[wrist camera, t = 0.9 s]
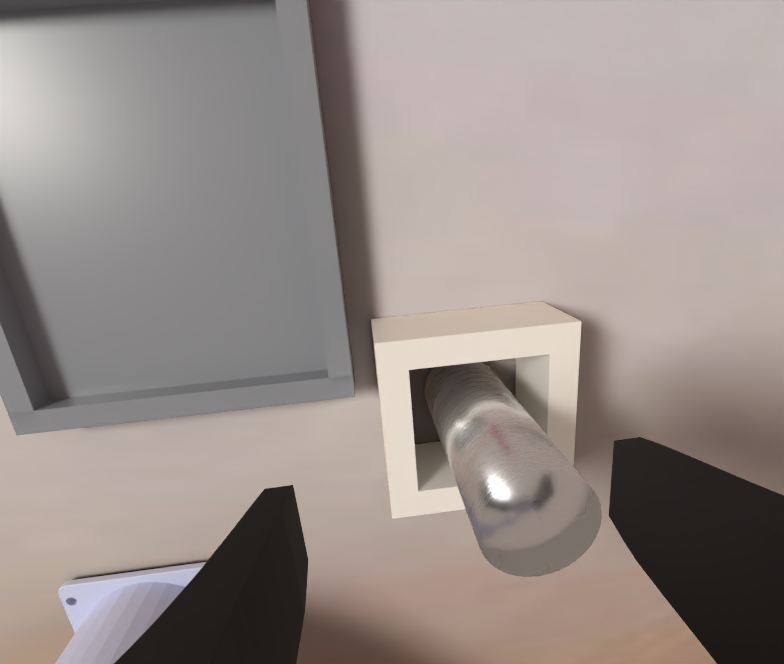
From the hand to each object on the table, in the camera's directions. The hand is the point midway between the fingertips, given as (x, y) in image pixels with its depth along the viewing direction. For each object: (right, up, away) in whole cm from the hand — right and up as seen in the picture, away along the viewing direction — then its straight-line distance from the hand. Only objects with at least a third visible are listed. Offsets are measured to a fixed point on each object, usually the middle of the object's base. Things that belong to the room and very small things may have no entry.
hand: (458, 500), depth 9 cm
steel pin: (+2, +1, +11) cm, 11 cm away
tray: (-11, +8, +7) cm, 16 cm away
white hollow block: (+2, +1, +11) cm, 11 cm away
